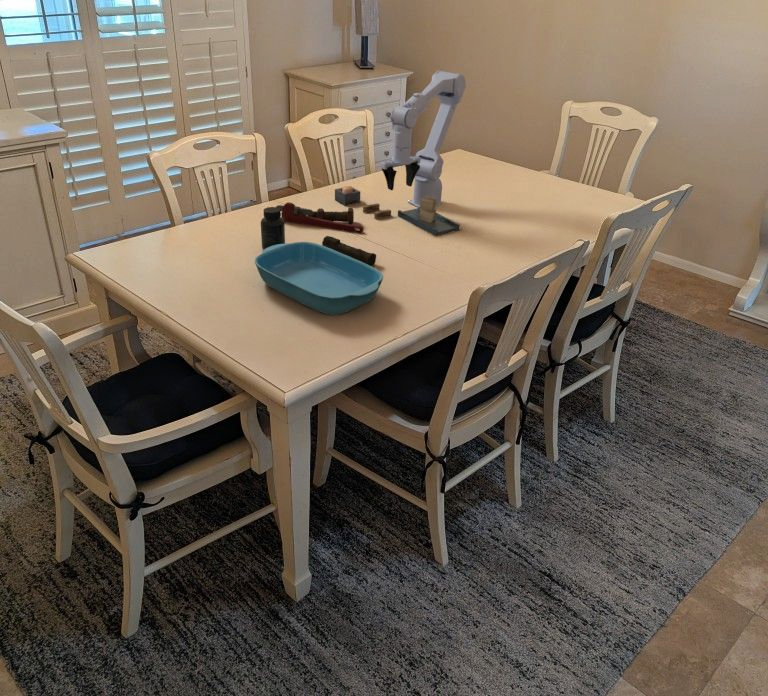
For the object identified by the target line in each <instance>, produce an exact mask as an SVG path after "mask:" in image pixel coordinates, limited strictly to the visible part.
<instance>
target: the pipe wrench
mask: <svg viewBox="0 0 768 696" xmlns="http://www.w3.org/2000/svg"><path fill="white" fill-rule="evenodd" d="M275 207H277V208H279V209H280V213H281V218H283V220H284V222H288V223H294V224H298V225H299V224H300V225H306V226H312V227H319V228H324V229H326V228H327V229H332V230H338V231H342V230H343V232H349V233H355V234H362V233H363V232H364V230H365V229H364V227H363V225H360V224H354V223H353V224H348V223H346V222H340V221H328V220H323V219H318V218H314V217H309V216H312V215H313V211H314V210H312V209H309V208H304V207H300V206H296V205H295V204H294V203H293V202H286V203H284V205H282V204H281V205H280V204H279V205H276V206H275ZM307 215H309V216H307Z"/></svg>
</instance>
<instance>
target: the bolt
mask: <svg viewBox="0 0 768 696" xmlns="http://www.w3.org/2000/svg"><path fill="white" fill-rule="evenodd" d="M353 208H354V207H348V209H347V211H346V210H345V211H337V210H336V211H325V209H324V208H317V210H316V211H314V210H312V211H313V215H312V216H309V215H307V216H309V217H314V218H318V219H323V220H328V221H333V222H341V223H347V224H353V225H354V216H355V214H354V213H355V212H354V209H353Z"/></svg>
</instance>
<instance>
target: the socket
mask: <svg viewBox="0 0 768 696" xmlns="http://www.w3.org/2000/svg"><path fill="white" fill-rule="evenodd" d="M380 204H381V203H380ZM380 204H379V203H372V204H367V205H363V206H362V212H363V213H365V214H367V213H372V212H374V213H373V214H374V217H373V218H374V220H380V219H385V218H389V217H392V210H391V209H384V210H380Z"/></svg>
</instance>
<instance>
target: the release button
mask: <svg viewBox="0 0 768 696" xmlns="http://www.w3.org/2000/svg"><path fill="white" fill-rule="evenodd" d="M341 188H342V192H344V193H350V192H353V188H354V187H353V188H352V186H351V187H349V186H347V185H346V186H343V187H341Z"/></svg>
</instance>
